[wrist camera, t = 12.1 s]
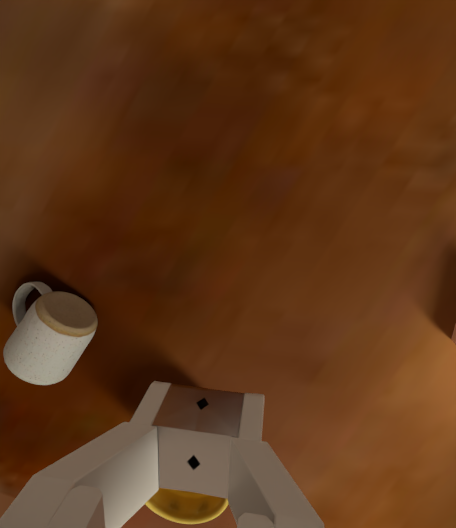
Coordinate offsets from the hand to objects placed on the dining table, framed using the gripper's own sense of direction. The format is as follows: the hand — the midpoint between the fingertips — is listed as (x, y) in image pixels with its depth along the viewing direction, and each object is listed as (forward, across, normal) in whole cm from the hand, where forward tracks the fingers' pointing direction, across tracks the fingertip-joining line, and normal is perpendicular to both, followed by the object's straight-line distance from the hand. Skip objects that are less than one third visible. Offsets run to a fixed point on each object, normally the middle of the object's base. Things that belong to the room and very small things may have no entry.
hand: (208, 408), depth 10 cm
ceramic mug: (+29, +24, +14) cm, 40 cm away
